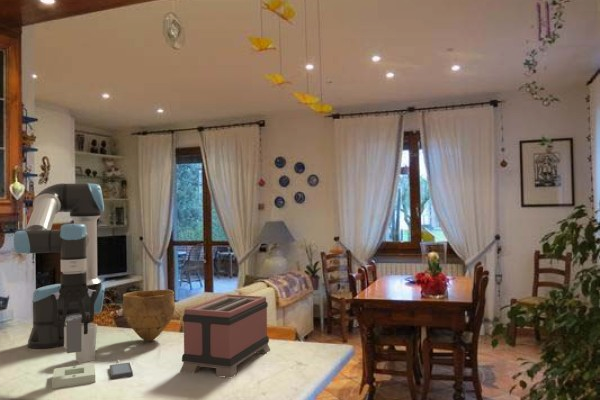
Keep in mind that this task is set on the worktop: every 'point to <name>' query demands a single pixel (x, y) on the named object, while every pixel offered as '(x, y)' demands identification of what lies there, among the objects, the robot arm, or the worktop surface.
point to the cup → (88, 345)
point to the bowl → (148, 311)
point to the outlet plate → (73, 375)
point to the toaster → (224, 333)
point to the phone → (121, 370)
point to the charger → (73, 335)
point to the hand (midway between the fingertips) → (74, 345)
